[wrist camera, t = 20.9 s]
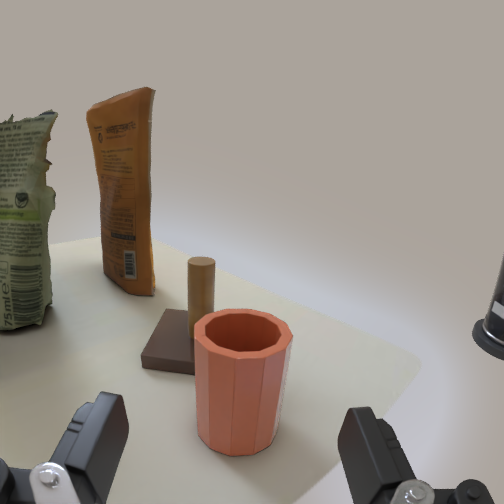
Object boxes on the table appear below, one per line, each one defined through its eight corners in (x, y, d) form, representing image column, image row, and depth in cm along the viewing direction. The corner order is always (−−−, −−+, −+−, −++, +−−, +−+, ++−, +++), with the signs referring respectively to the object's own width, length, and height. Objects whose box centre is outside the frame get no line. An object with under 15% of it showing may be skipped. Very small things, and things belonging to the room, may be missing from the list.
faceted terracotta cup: (285, 413, 24) (301, 320, 21) (260, 466, 19) (274, 369, 16) (218, 393, 26) (220, 301, 23) (183, 438, 20) (175, 339, 18)
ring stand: (249, 326, 38) (255, 249, 35) (246, 379, 28) (254, 285, 25) (166, 319, 38) (164, 243, 35) (142, 367, 28) (133, 274, 25)
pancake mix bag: (130, 308, 39) (131, 81, 31) (85, 266, 52) (84, 104, 44) (172, 296, 44) (179, 87, 36) (118, 259, 57) (120, 106, 49)
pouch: (-19, 308, 32) (-36, 123, 25) (50, 290, 41) (42, 117, 34) (-12, 345, 25) (-39, 110, 18) (74, 320, 34) (63, 104, 27)
